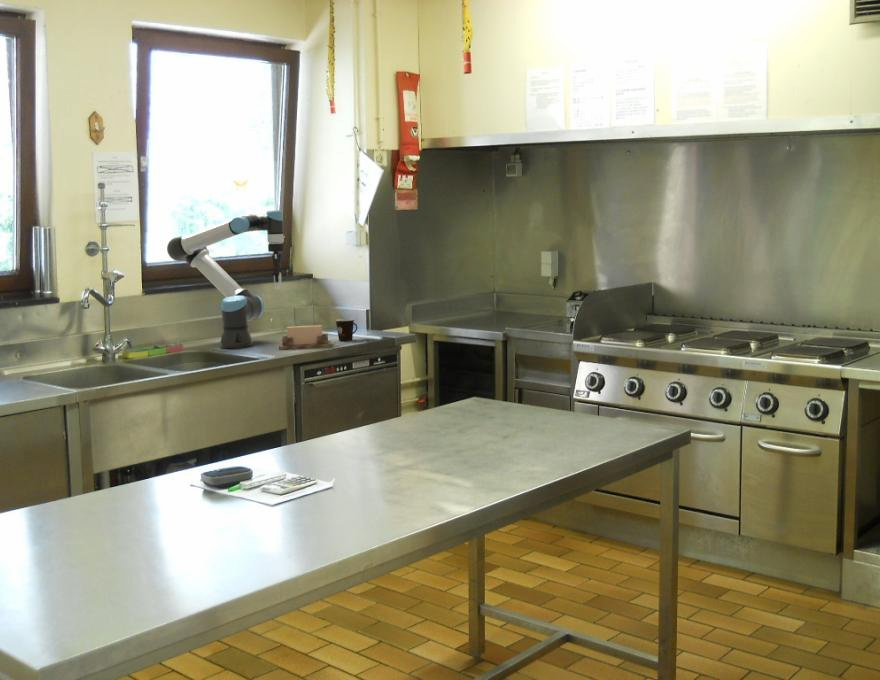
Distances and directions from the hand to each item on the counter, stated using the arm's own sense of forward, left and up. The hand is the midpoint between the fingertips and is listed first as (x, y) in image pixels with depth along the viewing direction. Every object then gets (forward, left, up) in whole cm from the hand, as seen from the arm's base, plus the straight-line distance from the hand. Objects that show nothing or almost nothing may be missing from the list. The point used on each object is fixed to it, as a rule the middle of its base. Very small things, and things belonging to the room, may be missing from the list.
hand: (278, 287), depth 490 cm
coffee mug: (+30, +11, -27) cm, 41 cm away
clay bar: (+18, -9, -25) cm, 32 cm away
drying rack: (+19, -9, -27) cm, 33 cm away
